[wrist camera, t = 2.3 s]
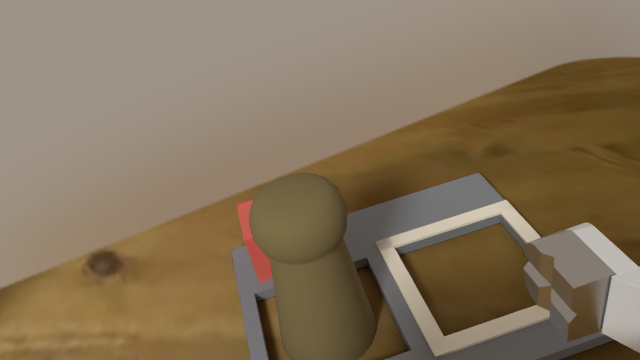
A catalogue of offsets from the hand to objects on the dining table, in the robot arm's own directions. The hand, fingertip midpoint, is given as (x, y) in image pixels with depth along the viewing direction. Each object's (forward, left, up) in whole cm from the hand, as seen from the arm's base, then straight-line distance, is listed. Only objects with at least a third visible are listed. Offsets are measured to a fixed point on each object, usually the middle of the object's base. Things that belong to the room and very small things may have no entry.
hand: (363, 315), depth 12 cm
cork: (0, +14, -17) cm, 22 cm away
